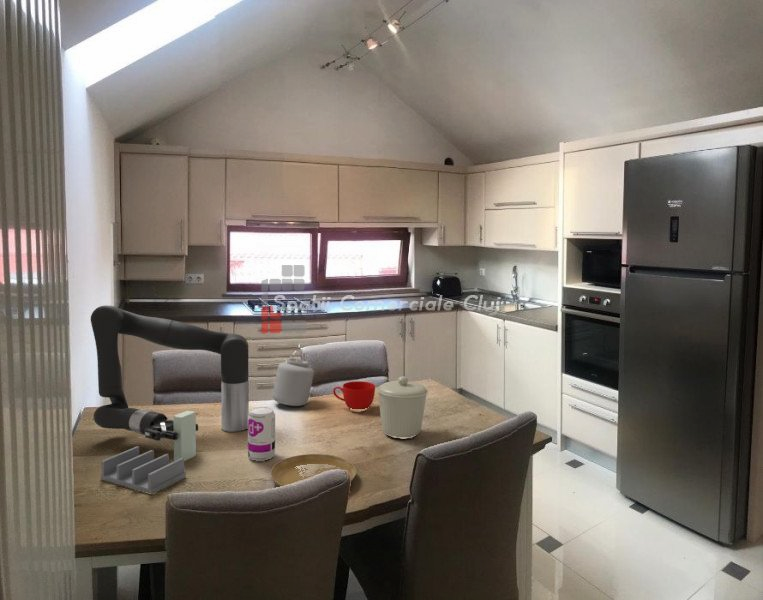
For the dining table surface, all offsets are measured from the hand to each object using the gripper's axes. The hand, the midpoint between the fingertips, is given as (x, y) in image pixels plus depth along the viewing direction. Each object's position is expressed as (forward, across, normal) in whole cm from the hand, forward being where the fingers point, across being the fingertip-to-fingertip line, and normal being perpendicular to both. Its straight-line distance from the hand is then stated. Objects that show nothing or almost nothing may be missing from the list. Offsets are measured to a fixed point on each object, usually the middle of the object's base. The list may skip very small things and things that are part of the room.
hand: (187, 432), depth 164 cm
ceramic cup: (+23, +67, +9) cm, 71 cm away
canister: (+50, +51, +9) cm, 72 cm away
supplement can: (+19, +12, +9) cm, 24 cm away
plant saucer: (+42, +6, +9) cm, 43 cm away
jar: (-1, +61, +9) cm, 62 cm away
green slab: (-1, 0, +8) cm, 9 cm away
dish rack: (-1, -16, +8) cm, 18 cm away
